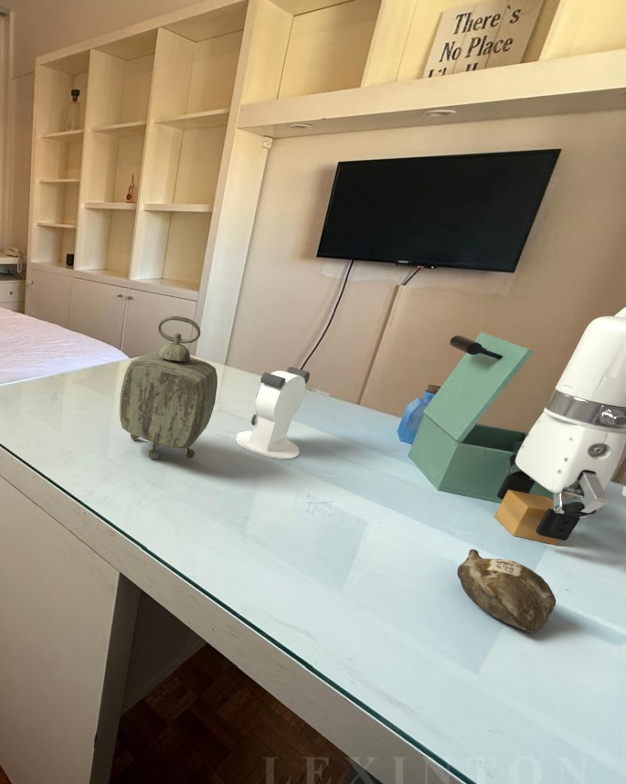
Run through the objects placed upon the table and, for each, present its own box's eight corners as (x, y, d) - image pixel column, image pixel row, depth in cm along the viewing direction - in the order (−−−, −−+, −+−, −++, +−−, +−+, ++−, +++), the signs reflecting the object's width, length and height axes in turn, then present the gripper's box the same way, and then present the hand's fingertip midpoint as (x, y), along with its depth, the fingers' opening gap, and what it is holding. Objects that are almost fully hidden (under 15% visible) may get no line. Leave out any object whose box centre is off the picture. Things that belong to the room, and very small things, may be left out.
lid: (486, 333, 79) (450, 321, 80) (534, 351, 67) (491, 337, 68) (427, 413, 86) (394, 401, 87) (461, 442, 74) (423, 427, 75)
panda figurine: (256, 427, 97) (274, 360, 92) (311, 449, 88) (334, 377, 83) (224, 439, 90) (241, 367, 85) (280, 464, 82) (303, 386, 76)
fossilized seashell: (453, 546, 58) (437, 593, 53) (508, 526, 54) (497, 576, 48) (508, 597, 56) (498, 652, 50) (571, 581, 51) (568, 640, 45)
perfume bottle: (432, 439, 98) (453, 387, 94) (437, 449, 93) (460, 395, 89) (397, 431, 101) (416, 380, 97) (400, 440, 96) (420, 387, 92)
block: (534, 525, 69) (549, 497, 67) (556, 545, 65) (573, 516, 63) (494, 516, 70) (508, 489, 69) (512, 535, 66) (528, 506, 64)
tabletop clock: (202, 457, 82) (233, 321, 73) (188, 478, 75) (220, 329, 66) (128, 434, 89) (148, 307, 80) (108, 450, 82) (127, 313, 73)
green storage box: (506, 474, 84) (527, 432, 81) (554, 514, 72) (581, 466, 69) (407, 455, 89) (424, 414, 86) (437, 490, 77) (457, 443, 74)
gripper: (685, 443, 52) (606, 562, 58) (578, 396, 67) (524, 494, 73) (600, 428, 54) (532, 545, 60) (515, 386, 69) (468, 482, 75)
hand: (528, 517), depth 67 cm, fingers open, 9 cm apart
